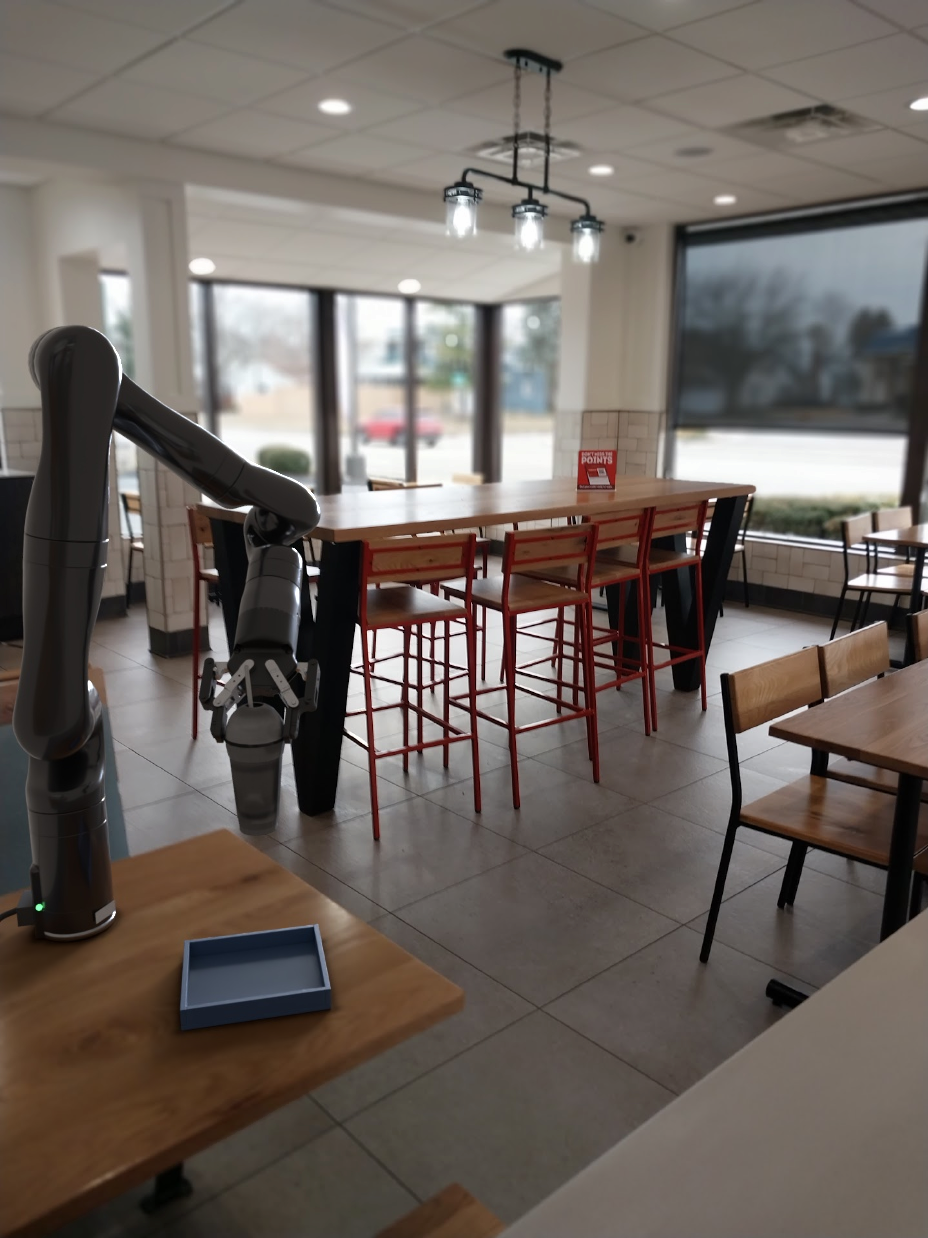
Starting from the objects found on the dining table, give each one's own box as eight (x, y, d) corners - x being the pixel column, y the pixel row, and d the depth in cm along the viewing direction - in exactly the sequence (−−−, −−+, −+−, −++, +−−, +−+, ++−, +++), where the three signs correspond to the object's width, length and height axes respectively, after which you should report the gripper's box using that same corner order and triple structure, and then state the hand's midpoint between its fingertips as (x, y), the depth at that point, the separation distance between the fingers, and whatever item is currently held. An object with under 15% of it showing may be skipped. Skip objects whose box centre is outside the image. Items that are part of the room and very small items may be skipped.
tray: (181, 1031, 102) (179, 1010, 102) (185, 959, 116) (184, 940, 115) (331, 1009, 106) (330, 989, 106) (318, 942, 120) (318, 924, 119)
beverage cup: (255, 847, 109) (249, 679, 104) (214, 829, 113) (207, 668, 109) (302, 825, 114) (298, 665, 110) (261, 810, 119) (256, 655, 114)
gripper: (205, 604, 115) (183, 726, 107) (322, 605, 116) (311, 727, 107) (217, 636, 122) (198, 754, 113) (329, 637, 122) (318, 755, 113)
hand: (253, 740), depth 110 cm, fingers closed on beverage cup, 7 cm apart
